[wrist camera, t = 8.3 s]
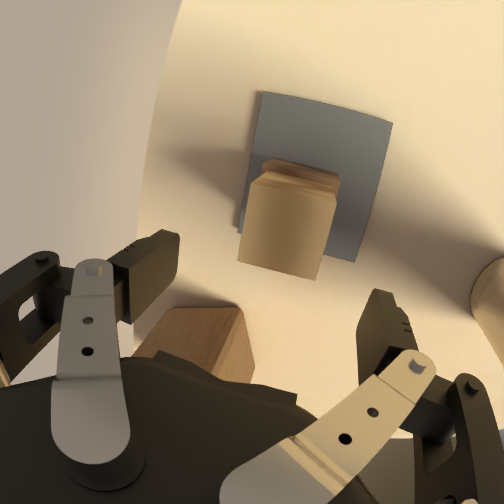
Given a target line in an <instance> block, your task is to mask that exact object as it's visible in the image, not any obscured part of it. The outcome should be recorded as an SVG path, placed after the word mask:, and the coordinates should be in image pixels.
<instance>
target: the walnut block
mask: <svg viewBox="0 0 504 504" xmlns="http://www.w3.org/2000/svg"><path fill="white" fill-rule="evenodd" d="M266 171H273V172H277V173H282V174H286V175H290V176H295V177H299V178H303V179H307V180H311V181H316V182H320V183H324V184H327V185H331V186H333V190H334V194H335V198H337V194H338V190H339V186H340V182H341V181H340V179H339V177H338V174H337V173H335V172H331V171H327V170H323V169H319V168H315V167H311V166H307V165H303V164H299V163H295V162H290V161H286V160H281V159H277V158H271V159H269V160H267V161H265V162H263V165H262V171H261V175H262V174H264V173H265V172H266Z"/></svg>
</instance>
